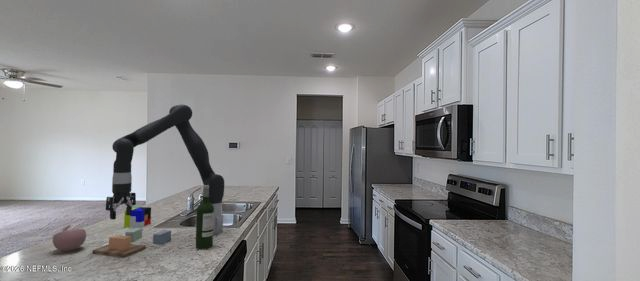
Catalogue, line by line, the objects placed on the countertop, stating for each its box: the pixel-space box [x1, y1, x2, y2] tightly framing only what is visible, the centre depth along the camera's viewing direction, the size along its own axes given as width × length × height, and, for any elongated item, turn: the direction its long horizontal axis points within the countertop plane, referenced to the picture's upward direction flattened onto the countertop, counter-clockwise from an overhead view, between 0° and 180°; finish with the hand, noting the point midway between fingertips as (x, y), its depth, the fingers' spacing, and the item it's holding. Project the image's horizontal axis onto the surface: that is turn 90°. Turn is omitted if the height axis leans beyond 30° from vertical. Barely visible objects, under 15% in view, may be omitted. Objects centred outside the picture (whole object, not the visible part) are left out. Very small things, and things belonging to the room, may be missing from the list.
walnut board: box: [92, 243, 147, 259], centre depth 144 cm, size 17×12×2 cm
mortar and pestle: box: [52, 224, 87, 252], centre depth 143 cm, size 12×12×11 cm
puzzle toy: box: [123, 206, 152, 229], centre depth 188 cm, size 10×10×10 cm
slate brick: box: [152, 229, 172, 245], centre depth 159 cm, size 8×4×5 cm, turn 167°
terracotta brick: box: [108, 234, 132, 250], centre depth 144 cm, size 8×4×5 cm, turn 77°
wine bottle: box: [195, 184, 214, 250], centre depth 154 cm, size 8×8×30 cm
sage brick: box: [124, 227, 143, 243], centre depth 161 cm, size 8×4×5 cm, turn 1°
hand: (121, 217), depth 144 cm, fingers open, 8 cm apart
